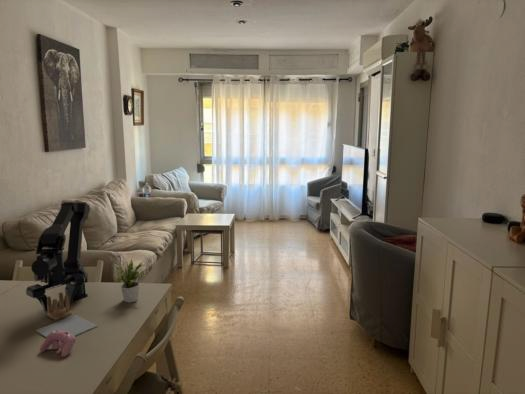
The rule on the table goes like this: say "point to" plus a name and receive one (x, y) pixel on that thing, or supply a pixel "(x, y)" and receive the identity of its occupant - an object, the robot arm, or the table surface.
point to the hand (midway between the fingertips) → (58, 306)
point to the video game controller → (55, 340)
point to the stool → (56, 311)
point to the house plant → (130, 282)
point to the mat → (68, 326)
